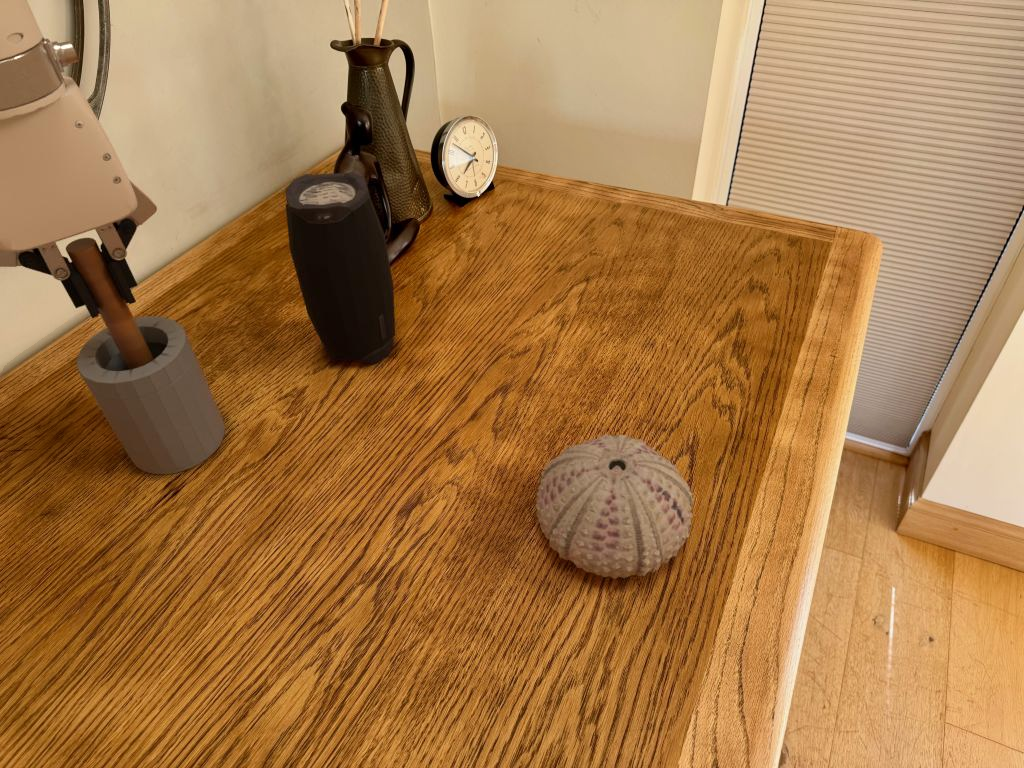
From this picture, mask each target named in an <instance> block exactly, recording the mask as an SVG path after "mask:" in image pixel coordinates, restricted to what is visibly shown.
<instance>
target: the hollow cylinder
mask: <svg viewBox="0 0 1024 768" xmlns="http://www.w3.org/2000/svg"><path fill="white" fill-rule="evenodd" d="M134 319H135V321H136V323H137V325H138V328H139V330H140V332H141V334H142V336H143V338H144V340H145V342H146V344H147V346H148V348H149V350H150V352H151V354H152V356H153V358H154V360H153V361H151V362H150V363H148V364H146V365H144V366H141V367H138V368H135V369H132V370H129V368H128V366H127V364H126V362H125V360H124V359H123V357H122V355H121V353H120V351H119V349H118V347H117V345H116V344H115V342H114V340H113V338H112V336H111V334H110V332H109V330H108V329H107V327H106V328H104V329H102V330H100V331H99V332H98V333H96V334H95V335H93V336H92V337H90V338H89V339H88V340H87V341H86V343H85V344H84V345H83V346H82V347H81V348H80V350H79V353H78V355H77V358H76V368H77V371H78V373H79V375H80V376H81V378H82V380H83V382H84V384H85V385H86V387H87V389H88V390H89V391H90V393H91V395H92V396H93V398H94V400H95V402H96V403H97V405H98V407H99V409H100V410H101V412H102V414H103V415H104V417H105V418H106V420H107V422H108V423H109V425H110V427H111V429H112V430H113V432H114V434H115V435H116V437H117V438H118V440H119V443H120V444H121V446H122V447H123V449H124V450H125V452H126V454H127V456H128V457H129V459H130V460H131V461H132V463H133V464H134V465H135V467H137V468H138V469H139V470H141V471H143V472H145V473H148V474H153V475H171V474H176V473H177V474H178V473H180V472H181V473H182V472H184V471H187V470H189V469H192V468H194V467H197V466H198V465H200V464H201V463H203V462H205V461H206V460H208V458H210V457H211V456H212V455H213V454H214V453H215V452H216V451H217V450H218V448H219V447H220V446H221V444H222V442H223V440H224V437H225V433H226V424H225V421H224V419H223V417H222V414H221V412H220V409H219V407H218V404H217V402H216V400H215V398H214V395H213V393H212V391H211V388H210V386H209V384H208V381H207V379H206V376H205V375H204V372H203V370H202V368H201V365H200V363H199V361H198V358H197V356H196V354H195V351H194V349H193V347H192V344H191V343H190V340H189V338H188V336H187V333H186V331H185V328H184V327H183V326H182V325H180V324H179V322H177V320H174V319H171V318H168V317H165V316H156V315H155V316H154V315H150V316H140V317H134Z"/></svg>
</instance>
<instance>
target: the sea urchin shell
mask: <svg viewBox="0 0 1024 768" xmlns="http://www.w3.org/2000/svg"><path fill="white" fill-rule="evenodd" d="M543 469H544V470H543V471H541V472H540V474H541V479H540V484H539V485H538V488H537V489H538V492H537V493H536V494H535V496H536V497H537V498H536V499H535V503H536V504H535V506H534V507H535V509H536V510H537V512H536V517H537V518H538V519H537V520H538V522H539V524H540V525H539V527H540V529H541V533H543V534H544V537H545V538H546V539H548V540H549V547H550V548H552V551H555V552H557V553H558V555H559V559H563V560H566V561H571V562H572V563H573V564H574V565H575V567H576V568H577V569H582V570H583V571H584V572H586V573H593V574H594V575H596V576H598V577H599V576H602V577H604V578H607V577H610V578H612V579H613V580H616V579H618V578H622V579H625V578H628V577H630V576H638V577H645V576H646V575H647V574H648V573H651V574H653V573H655V572H656V571H658V570H659V568H660V567H661V565H662V564H668V563H669V561H670V559H671V558H674V557H677V555H678V553H679V550H680V548H682V547H683V546H684V544H685V543H686V540H687V539H688V538H689V537H690V535H689V532H690V531H691V530H692V529H691V525H692V518H693V514H692V512H691V511H692V509H693V504H694V503H695V499H694V497H693V495H694V493H693V492H691V491H690V490H691V487H690V485H689V483H688V482H687V481H685V478H684V477H683V476H681V474H680V471H679V469H677V468H676V465H675V464H672V462H671V460H669V459H667V458H665V457H664V456H663V455H662V454H661V453H659V452H658V451H656V450H655V449H653V448H652V447H651V446H649V445H648V444H647V443H645V442H644V440H643V438H642V439H640V438H637V439H635V438H633V437H631V436H629V435H625V434H614V435H610V434H607V433H605V434H602V435H601V436H599V437H595V438H592V439H588V440H586V441H583V442H580V443H578V444H573V445H569V446H568V448H564V450H563V452H561V454H559V455H558V456H556V457H554V458H552V459H551V460H550V461H548V462H547V463H546V466H545V467H544V468H543Z"/></svg>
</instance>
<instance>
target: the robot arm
mask: <svg viewBox="0 0 1024 768" xmlns="http://www.w3.org/2000/svg"><path fill="white" fill-rule="evenodd" d="M79 61H80V60H79V57H78V55H77V52H76V50H75V47H74V46H73V44H72V42H71V41H70V40H67V41H62V42H58V41H57V40H56V41H51V40H50V39H49V38H45V37H44V36H43V33H42V31H41V28H40V26H39V24H38V22H37V19H36V17H35V15H34V12H33V10H32V8H31V6H30V4H29V3H28V0H0V267H1V268H17V267H23V268H25V269H28V270H31V271H35V272H39V273H42V274H45V275H48V276H52V277H53V278H54V279H55V280H57V281H60V282H61V284H62V287H63V288H64V290H65V292H66V293H67V295H68V297H69V299H70V301H71V303H72V305H73V306H74V308H75V309H79V308H81V307H84V306H85V308H86V310H87V312H88V313H89V315H90V317H91V319H95V318H98V317H99V315H100V312H99V310H98V308H97V306H96V304H95V302H94V300H93V299H92V297H91V295H90V293H89V291H88V289H87V287H86V285H85V283H84V282H83V280H82V278H81V276H80V274H79V272H78V271H77V270H76V268H75V266H74V265H73V263H72V261H70V260H69V258H68V257H66V256H63V255H62V252H61V251H60V249H59V247H58V245H57V242H60V241H63V240H66V239H70V238H73V237H75V236H78V235H82V234H84V233H87V232H90V231H93V230H95V232H96V234H97V236H98V238H99V239H100V242H101V244H100V246H99V248H100V251H101V253H102V255H103V257H104V259H105V262H106V264H107V266H108V268H109V270H110V272H111V274H112V276H113V278H114V280H115V282H116V284H117V286H118V288H119V290H120V292H121V294H122V296H123V298H124V300H125V302H126V303H127V304H129V305H132V304H135V303H137V301H136V299H135V296H134V294H133V292H132V290H131V289H132V288H136V287H138V283H137V280H136V278H135V276H134V274H133V272H132V270H131V268H130V265H129V263H128V262H127V258H126V257H127V255H128V251H127V250H128V247H129V245H130V244H131V241H132V239H133V237H134V236H135V233H136V232H137V230H138V227H139V226H142V225H143V224H144V223H145V222H146V221H148V220H149V219H150V218H151V217H152V216H153V215H155V214H156V212H157V210H158V208H157V205H156V204H155V202H154V201H153V200H152V199H151V198H150V197H149V195H147V194H146V193H145V192H144V191H143V190H141V189H140V188H139V187H138V186H137V185H136V184H135V183H134V182H133V181H132V180H130V178H129V177H128V174H127V172H126V170H125V168H124V167H123V164H122V162H121V159H120V158H119V156H118V154H117V152H116V150H115V148H114V146H113V144H112V142H111V141H110V139H109V137H108V134H107V132H106V131H105V129H104V127H103V126H102V124H101V122H100V120H99V119H98V117H97V116H96V113H95V112H94V110H93V108H92V107H91V105H90V103H89V100H88V99H87V97H86V96H85V94H84V93H83V92H82V90H81V88H80V87H79V86H78V85H77V83H76V81H75V80H74V79H73V78H72V77H71V76H68V75H67V76H66V75H63V73H65V70H64V68H66V67H69V65H70V64H74V63H78V62H79Z"/></svg>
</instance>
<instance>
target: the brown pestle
mask: <svg viewBox="0 0 1024 768" xmlns="http://www.w3.org/2000/svg"><path fill="white" fill-rule="evenodd" d="M100 248H101V247H100V246H99V245H98V243H97V241H96V240H95V238H93V237H82V238H77V239H74V240H73V241H71V242H69V243H68V244H67V245H66V246H65V252H66V253H67V256H68V257H69V259H70V262H72V263H73V265H74V266H75V268H76V270H77V271H78V272H79V274H80V276H81V278H82V280H83V282H84V283H85V285H86V287H87V289H88V291H89V293H90V295H91V297H92V299H93V300H94V302H95V304H96V306H97V308H98V310H99V312H100V314H99V316H100V317H101V319H102V321H103V323H104V325H105V326H106V328H107V329H108V330H109V332H110V334H111V336H112V338H113V340H114V342H115V344H116V345H117V347H118V349H119V351H120V353H121V355H122V357H123V359H124V360H125V362H126V364H127V366H128V368H129V370H132V369H135V368H138V367H141V366H144V365H146V364H148V363H150V362H151V361H153V360H154V358H153V356H152V354H151V352H150V350H149V348H148V346H147V344H146V342H145V340H144V338H143V336H142V334H141V332H140V330H139V328H138V325H137V323H136V321H135V319H134V318H135V317H134V316H133V313H132V312H131V310H130V308H129V306H128V303H126V302H125V300H124V298H123V296H122V294H121V292H120V290H119V288H118V286H117V284H116V282H115V280H114V278H113V276H112V274H111V272H110V270H109V268H108V266H107V264H106V262H105V259H104V257H103V255H102V253H101V252H102V251H101V249H100Z"/></svg>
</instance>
